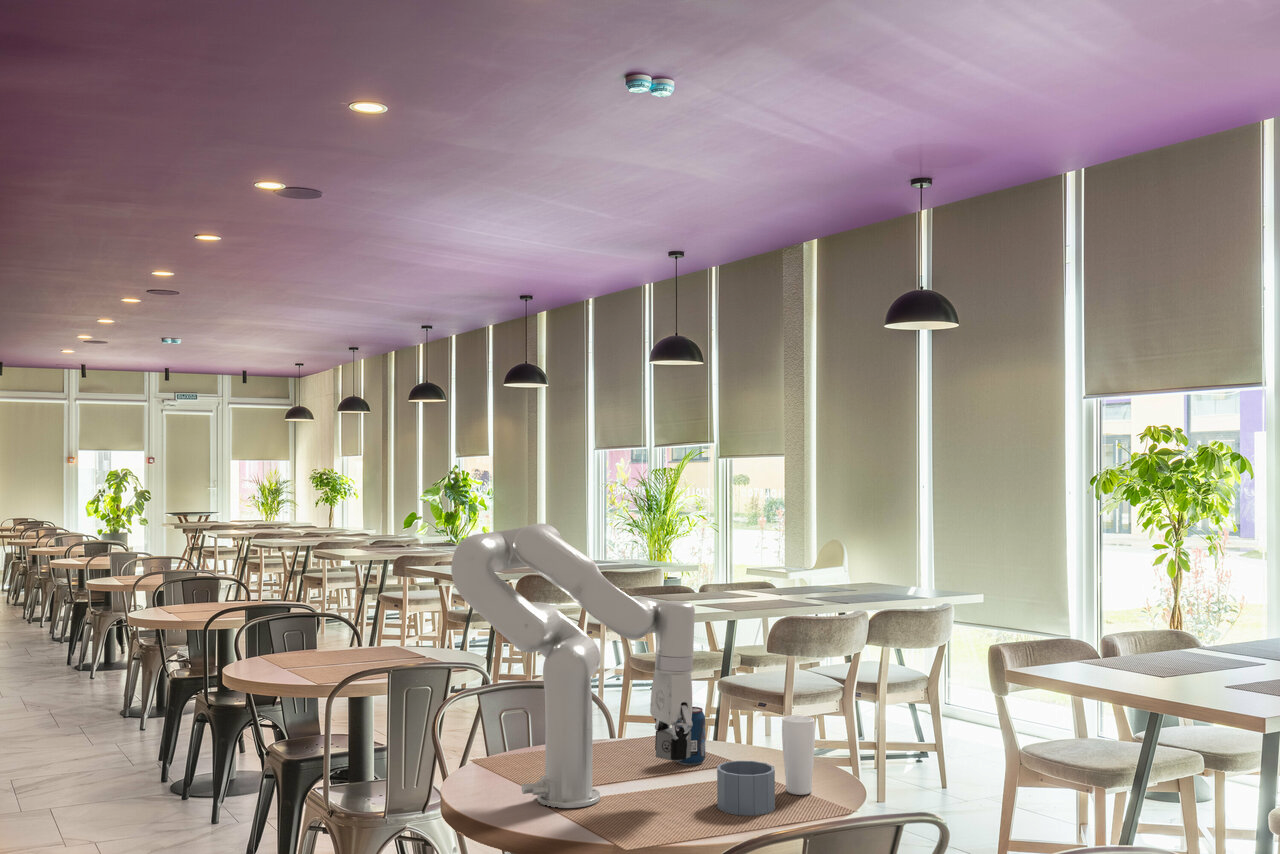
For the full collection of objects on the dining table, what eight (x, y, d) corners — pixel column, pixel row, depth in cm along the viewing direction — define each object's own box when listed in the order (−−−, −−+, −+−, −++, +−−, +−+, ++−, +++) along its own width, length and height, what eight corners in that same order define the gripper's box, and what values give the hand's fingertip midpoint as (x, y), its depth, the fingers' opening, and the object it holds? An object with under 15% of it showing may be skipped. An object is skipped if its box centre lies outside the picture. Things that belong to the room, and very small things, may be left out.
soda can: (673, 758, 245) (673, 706, 246) (702, 757, 246) (702, 705, 246) (677, 766, 238) (677, 712, 239) (707, 765, 239) (707, 711, 239)
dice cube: (677, 761, 207) (678, 735, 207) (655, 757, 209) (656, 731, 210) (690, 756, 211) (691, 731, 211) (669, 752, 214) (670, 727, 214)
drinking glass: (819, 790, 219) (818, 716, 220) (810, 798, 213) (809, 723, 214) (787, 786, 222) (787, 713, 223) (778, 794, 216) (777, 720, 217)
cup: (735, 818, 200) (735, 778, 201) (707, 802, 210) (707, 764, 211) (785, 810, 205) (785, 771, 205) (755, 795, 215) (755, 758, 215)
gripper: (638, 657, 217) (635, 745, 216) (676, 672, 201) (673, 767, 200) (671, 656, 220) (667, 743, 219) (711, 670, 204) (707, 764, 203)
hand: (670, 754), depth 210 cm, fingers closed on dice cube, 6 cm apart
